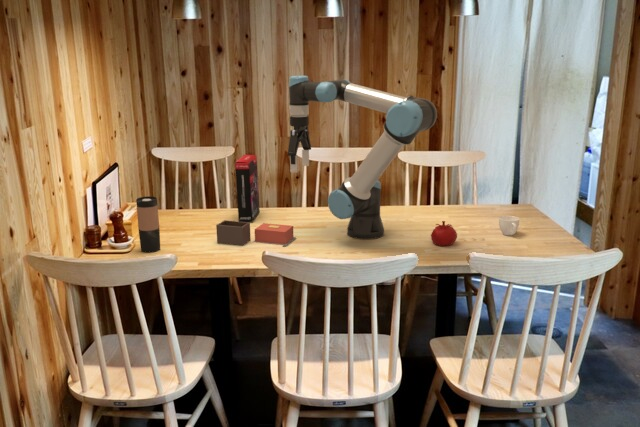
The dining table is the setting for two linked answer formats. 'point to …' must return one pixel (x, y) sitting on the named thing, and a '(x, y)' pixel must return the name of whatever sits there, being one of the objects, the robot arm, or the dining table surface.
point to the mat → (279, 244)
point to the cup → (508, 225)
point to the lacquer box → (233, 233)
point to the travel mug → (148, 224)
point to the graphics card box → (247, 188)
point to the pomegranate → (444, 235)
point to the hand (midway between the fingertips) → (299, 168)
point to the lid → (274, 233)
